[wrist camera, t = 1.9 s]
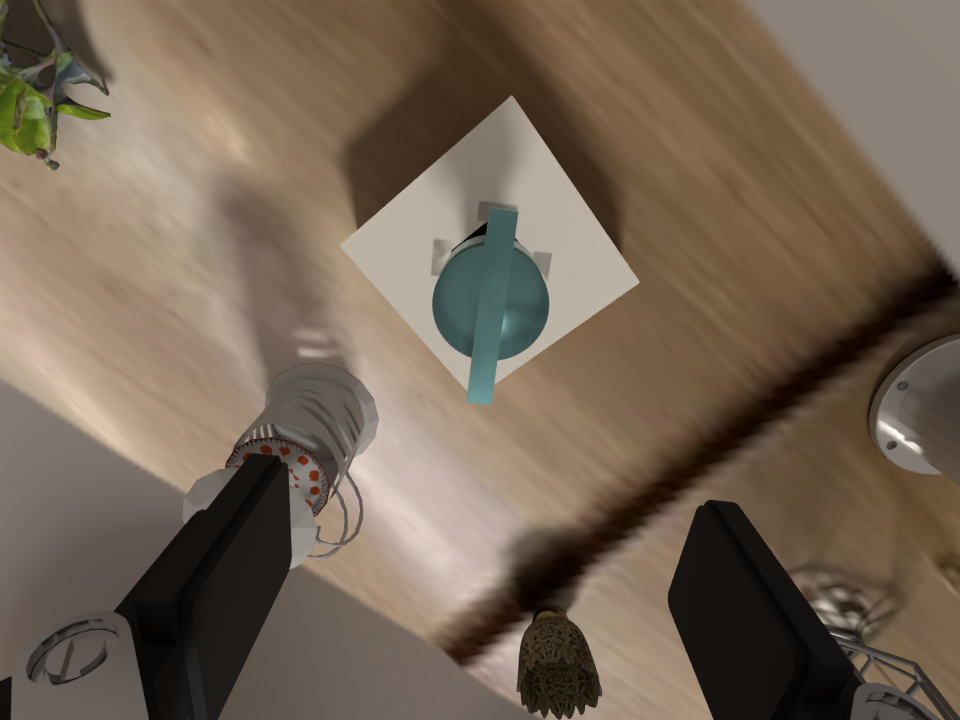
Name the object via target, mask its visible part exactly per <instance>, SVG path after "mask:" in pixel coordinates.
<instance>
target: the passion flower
mask: <svg viewBox="0 0 960 720" xmlns="http://www.w3.org/2000/svg"><path fill="white" fill-rule="evenodd" d="M33 2H34V5H35V8H36V10H37V12H38V14H39V16H40V17H41V18H42V20H43V21H44V23H45V25H46V27H47V29H48V30H49V33H50V35H51V36H52V38H53V40H54V49H53V50H52V51H51V53H50V54H42V53H39V52H36V51H34V50H31V49H29V48H27V47H24V46H21V45H18V44H15V43H12V42H9V41H7V40H5V39H3V32H4V27H5V20H6V15H7V12H8V10H9V6H8V3H7V0H0V143H1V144H3V145H4V146H5V147H7V148H9V149H10V150H11V151H15V152H19V153H23V154H27V155H33V154H36V158H37V159H40V160H41V161H42V162H43V163H44V164H46V165H47V167H48V168H49V169H50V170H56V169H58V167H59V166H60V165H59V163H58V162H56V161H52V160H51V159H50V158H49V156H50V155H51V154H52V153H53V152H54V151H55V148H56V138H57V135H56V131H57V110H58V111H60V112H61V113H65V114H68V115H73V116H76V117H79V118H83V119H88V120H97V119H103V118H107V117H111V115H110V113H106V112H102V111H99V110H95V109H92V108H89V107H86V106H83V105H80V104H78V103H76V102H74V101H73V100H72V99H70V98H69V97H68V96H67V95H66V94H65V93H64V92H63V91H62V88H61V83H63V82H69V83H72V84H79V83H89V84H92V85H94V86H96V87H98V88H99V89H100V90H101V91H102V92H103V93H104V94H105V95H107V96H108V95H109V92H108V91H107V90H105V89H104V88H103V87H102V85H101V84H100V83H99V82H98V81H96V80H95V79H94V78H93V77H92V76H91V75H90V74H89V73H88V72H87V71H86V70H85V69H84V68H83V67H82V66H81V65H80V64H79V63H78V61H77V58H76V57H75V54H74V52H73V51H72V50H71V49H70V48H69V47H67V46H65V44H64V43H63V42H62V41H61V40H60V39H59V37H58V35H57V33H56V31H55V30H54V28H53V26H52V24H51V22H50V21H49V19H48V17H47V15H46V13H45V12H44V10H43V8H42V6H41V4H40V2H39V0H33ZM4 42H5V43H8V44H10V45H12V46H15V47H17V48H20V49H21V50H24V51H26V52H28V53H30V54H32V55H34V56H35V58H36V60H37V62H36V64H34V65H32V66H29V67H20V66H17V65H15V64H14V63H13V62H12V61H11V59H10V58H9V55H8V53H7V50H6V47H5V43H4ZM53 64H55V65H56V66H57V67H56V74H55V80H54V83H53V84H52V86H50V87H46V86H43V85H42V83H41V81H40V79H39V78H38V76H39V73H40V71H41V70H42V69H43V68H45V67H47V66H49V65H53ZM50 107H52V111H51V112H50ZM51 114H52V115H51ZM48 149H51V150H50V152H49V154H48V152H47V151H46V150H48Z"/></svg>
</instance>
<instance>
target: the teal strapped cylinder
mask: <svg viewBox="0 0 960 720" xmlns="http://www.w3.org/2000/svg"><path fill="white" fill-rule="evenodd" d="M518 213H519V212H518V210H517V209H511V208H503V207H495V206H490V208H489V217H488V225H487V231H484V232H482V233H480V234H479V235H478V236H477V237H474V238H471V239H469V240H467V241H465V242H464V243H462V244H461V245H459V246H458V247H457V248H456V249H455V250H454V251H453V252H452V253H451V254H450V256H449V257H448V259H447V260H446V262H445V265H444V267H443V269H442V271H441V274H440V276H439V278H438V281H437V283H436V285H435V288H434V292H433V298H432V311H433V317H434V320H435V323H436V326H437V328H438V330H439V332H440V334H441V335H442V337H443V338H444V339H445V341H446V342H447V343H448V344H449V345H450V346H451V347H453V348H454V349H455V350H457V351H458V352H460V353H461V354H463V355H466V356H468V357H470V358H471V367H470V375H469V383H468V392H467V402H470V403H478V404H487V405H491V403H492V396H493V389H494V382H495V375H496V368H497V361H499V360H504V359H508V358H511V357H514V356H516V355H518V354H520V353H521V352H523V351H525V350H526V349H527V348H529V347H530V346H531V345H532V344H533V343H534V342H535V341H536V340H537V338H538V337H539V336H540V334H541V333H542V331H543V329H544V327H545V324H546V322H547V318H548V314H549V295H548V290H547V287H546V284H545V281H544V279H543V277H542V274H541V272H540V270H539V267H538V265H537V263H536V261H535V259H534V258H533V256H532V255H531V253H530V252H529V251H528V250H527V249H526V248H525V247H524V246H523V245H521V244H520V243H518V242H517V241H515V234H516V227H517V220H518Z"/></svg>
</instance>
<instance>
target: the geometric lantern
mask: <svg viewBox="0 0 960 720" xmlns="http://www.w3.org/2000/svg"><path fill="white" fill-rule="evenodd" d="M827 630H828V631H829V633H833V634H838V635H842V636H847V637H851V638H855V639H856V640H857V641H858V642H859V643H856V642H853V641H850V640H847V639H844V638H841V637H838V636H835V635H832V634H831V635H832V637H833V638H834V640H835V641H836V642H837V644H838V645H839V647H840V648H841V649H842V651H843V652H844V654H845V655H846V656H847V654H846V653H845V651H844V650H843V649H846V650H851V651H852V652H851V653H850V654H849V656H847V658H848V659H849V661H850V662H851V663H852V661H851V660H852V658H853V657H854V656H855V655H856V653H857V652H859V653H863V654H866V655H867V656H868V657H869V659H868V660H867V662H866V663H865V665H864V666H863V667H862V669H861V670H860V672H859V671H858V670H857V668H856V667H855V665H854V664H853V663H852V665H853V666H854V667H855V669H854V671H853V672H854V674H855V675H856V677H857V678H858V679H859V681H860V682H861V684H862V685H863V684H865V683H866V681H865V680H864V678H863V677H862V676H863V675H864V673H865V672H866V670H867V669H868V668H869V666H870V665H871V663H872V662H873V660H874V661H876V662H878V663H880V664H882V665H884V666H886V667H888V668H891V669H893V670H895V671H897V672H899V673H901V674H903V675H905V676H907V677H909V678H911V679H913V680H915V682H914V683H913V685H912V686H911V687H910V688H909V689H908V690H907V691H906V692H905V693H906V694H908V695H909V696H911V697H913V696H914V694H915V693H916V692H917V691H918V690H919V689H920V688H922V690H923V691H924V693H925V694H926V695H927V697H928V698H929V699H930V701H931V702H932V703H933V705H934V706H935V707H936V709H937V710H938V711H939V713H940V714H941V716H942V717H943V718H944V720H952V719H953V720H960V717H959V716H958V715H957V713H956V712H955V711H954V710H953V708H952V707H951V706H950V705H949V703H948V702H947V701H946V700H945V698H944V697H943V696H942V695H941V693H940V692H939V691H938V689H937V688H936V687H935V686H934V684H933V683H932V682H931V681H930V679H929V678H928V677H927V675H926V674H925V673H924V672H923V670H922V669H921V668H920V667H919V665H918V664H917V663H915V662H913V661H910V660H907V659H904V658H901V657H898V656H895V655H892V654H889V653H886V652H883V651H880V650H877V649H874V648H871V647H868V646H866V645H865V644H864V642H863V641H862V640H861V639H860V638H859V636H858V635H856V634H850V633H846V632H841V631H837V630H833V629H828V628H827ZM839 643H840V644H839ZM842 644H843V645H842ZM874 656H876V657H879V658H883V659H886V660H890V661H893V662H897V663H900V664H903V665H906V666H909V667H912V668H913V669H914V672H915V675H916V676H914V675H912V674H910V673H908V672H906V671H904V670H901V669H899V668H897V667H895V666H893V665H891V664H889V663H887V662H885V661H883V660H881V659H878V658H876V657H874ZM930 690H931V691H930ZM933 694H934V695H933ZM936 698H937V699H938V700H937V699H936ZM939 702H940V703H941V704H940V703H939ZM942 706H943V707H944V708H945V709H944V708H943V707H942ZM946 711H947V712H948V713H947V712H946ZM949 715H950V716H951V717H952V718H951V717H950V716H949Z"/></svg>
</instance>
